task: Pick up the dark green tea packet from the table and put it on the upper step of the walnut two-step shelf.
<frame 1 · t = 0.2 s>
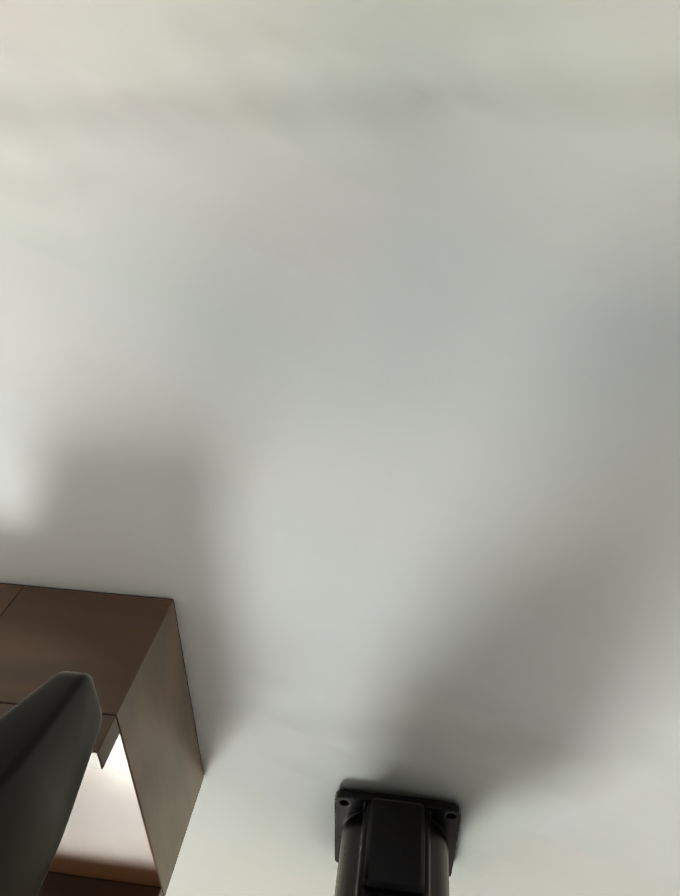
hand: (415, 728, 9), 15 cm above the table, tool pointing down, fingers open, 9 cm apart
step shelf: (70, 684, 32), on the table
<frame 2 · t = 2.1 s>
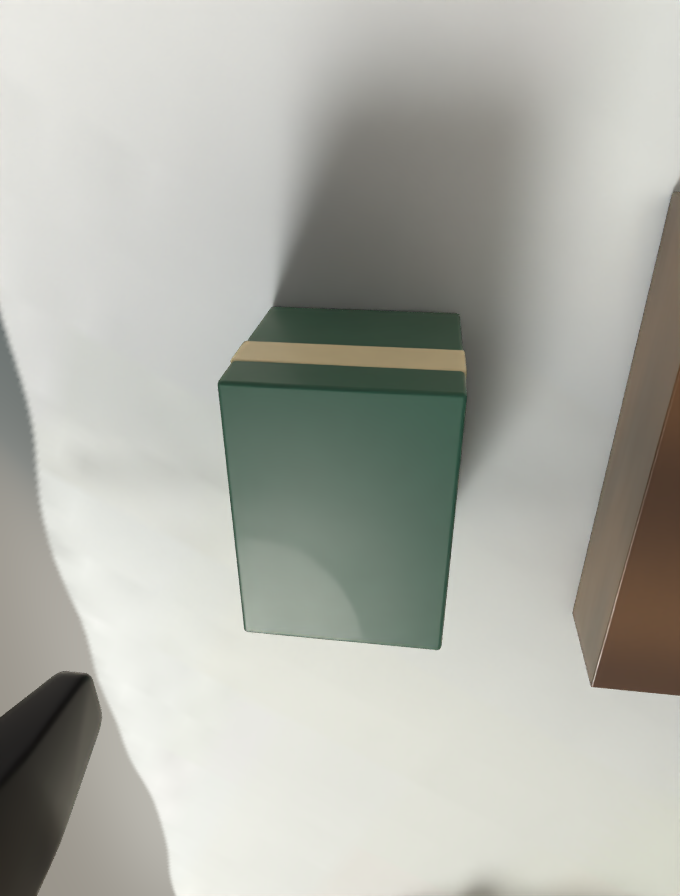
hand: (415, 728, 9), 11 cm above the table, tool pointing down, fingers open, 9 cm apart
tea packet: (362, 426, 19), on the table
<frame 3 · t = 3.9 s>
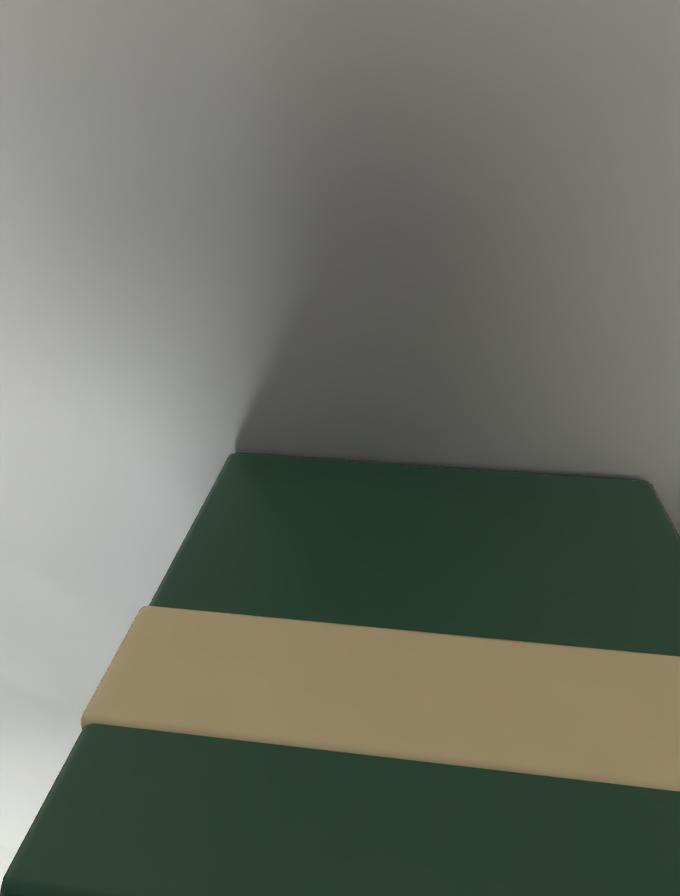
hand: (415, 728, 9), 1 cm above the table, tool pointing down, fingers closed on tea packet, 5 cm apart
tea packet: (415, 667, 9), on the table, touching gripper
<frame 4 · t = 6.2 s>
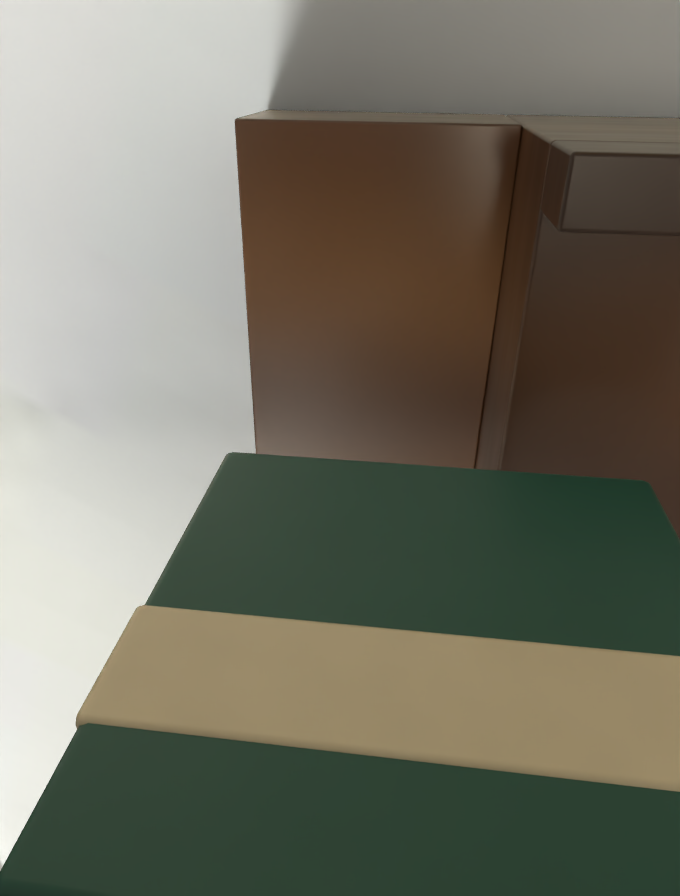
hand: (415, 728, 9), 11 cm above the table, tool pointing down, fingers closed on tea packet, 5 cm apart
step shelf: (499, 379, 18), on the table
tea packet: (413, 667, 9), point 10 cm above the table, touching gripper
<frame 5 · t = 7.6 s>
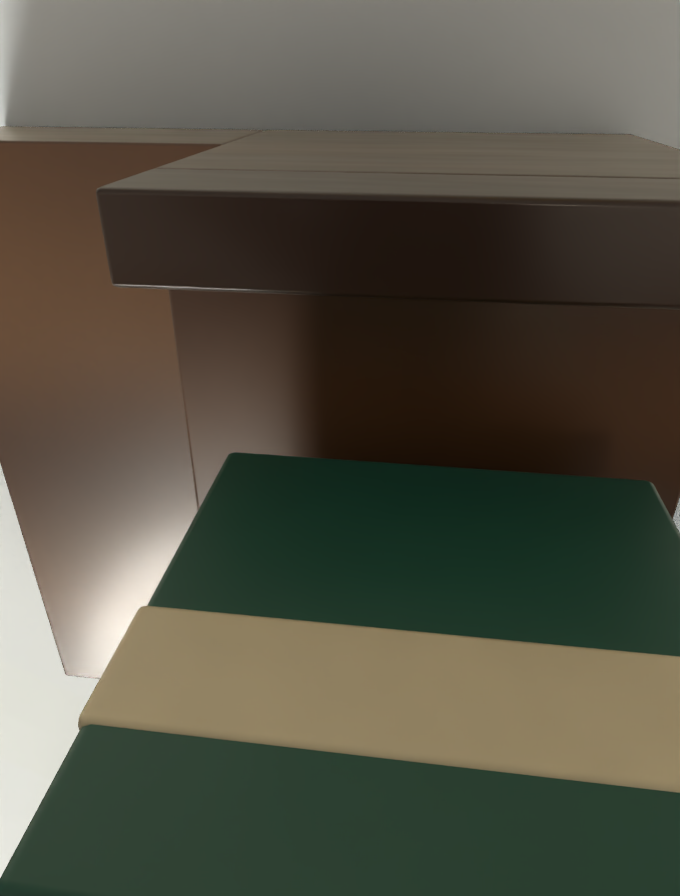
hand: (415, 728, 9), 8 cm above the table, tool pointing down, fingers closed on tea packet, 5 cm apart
step shelf: (308, 423, 16), on the table
tea packet: (415, 667, 9), point 7 cm above the table, touching gripper
when the fingers open (7 cm above the table, at t = 8.4 s): tea packet stays where it is, resting on step shelf.
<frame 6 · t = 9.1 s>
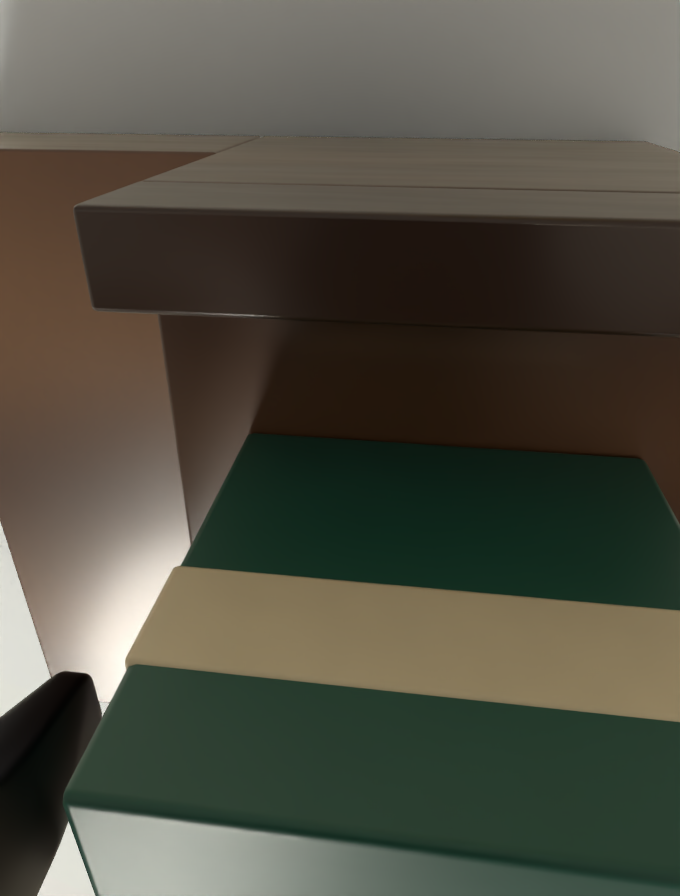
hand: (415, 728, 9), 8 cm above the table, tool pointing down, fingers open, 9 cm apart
step shelf: (308, 438, 15), on the table
tea packet: (421, 640, 10), point 6 cm above the table, touching step shelf
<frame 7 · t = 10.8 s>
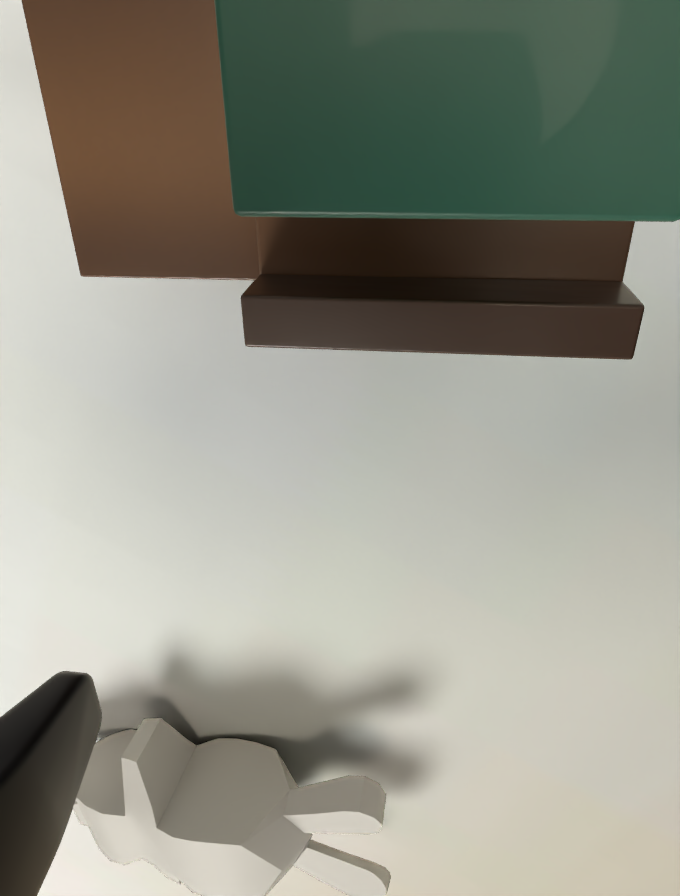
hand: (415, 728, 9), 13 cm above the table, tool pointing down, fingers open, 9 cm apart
bunny figurine: (238, 760, 31), on the table
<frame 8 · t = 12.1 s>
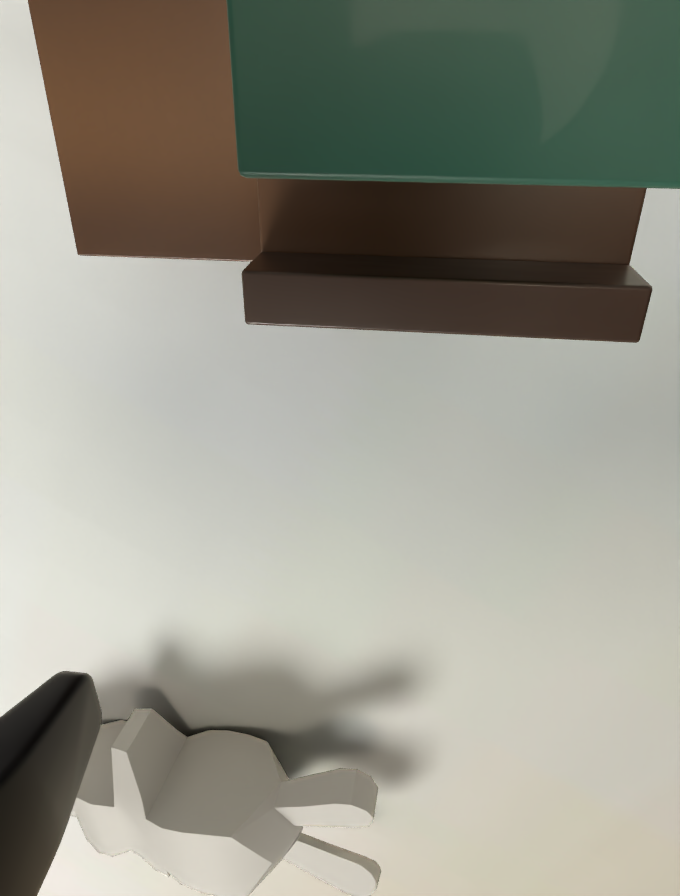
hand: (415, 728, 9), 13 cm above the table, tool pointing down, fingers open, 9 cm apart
bunny figurine: (229, 752, 31), on the table
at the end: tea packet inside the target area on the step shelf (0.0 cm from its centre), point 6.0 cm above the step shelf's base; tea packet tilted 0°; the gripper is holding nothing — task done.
